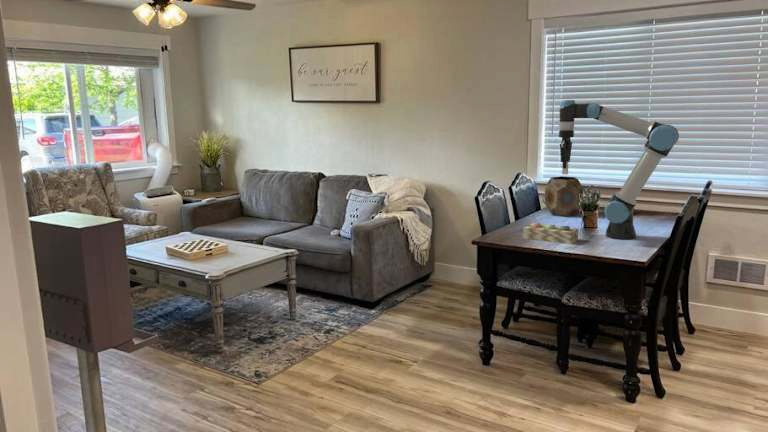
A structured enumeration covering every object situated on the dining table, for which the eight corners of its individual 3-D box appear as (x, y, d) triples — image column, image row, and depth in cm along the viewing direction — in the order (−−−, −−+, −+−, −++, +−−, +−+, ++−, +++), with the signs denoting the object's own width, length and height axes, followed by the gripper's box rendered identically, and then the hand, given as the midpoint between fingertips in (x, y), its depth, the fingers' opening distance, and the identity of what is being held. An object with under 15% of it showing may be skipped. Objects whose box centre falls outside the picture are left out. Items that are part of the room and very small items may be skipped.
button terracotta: (541, 230, 314) (541, 223, 313) (538, 232, 310) (538, 224, 310) (533, 229, 317) (533, 222, 316) (530, 231, 313) (530, 224, 312)
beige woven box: (577, 239, 307) (578, 228, 306) (570, 244, 297) (570, 232, 296) (531, 234, 322) (531, 223, 321) (522, 238, 313) (523, 227, 311)
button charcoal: (570, 233, 305) (571, 226, 304) (567, 235, 301) (568, 228, 300) (562, 232, 307) (562, 225, 307) (559, 234, 304) (559, 227, 303)
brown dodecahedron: (539, 215, 376) (540, 179, 371) (553, 209, 395) (554, 175, 390) (573, 218, 362) (574, 181, 358) (585, 212, 381) (587, 176, 377)
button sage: (556, 232, 309) (556, 224, 309) (552, 233, 306) (553, 226, 305) (547, 231, 312) (547, 224, 311) (544, 232, 308) (544, 225, 308)
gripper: (563, 129, 310) (562, 172, 315) (555, 130, 300) (553, 175, 305) (577, 129, 306) (576, 173, 310) (569, 130, 296) (567, 175, 300)
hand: (565, 174), depth 307 cm, fingers closed
